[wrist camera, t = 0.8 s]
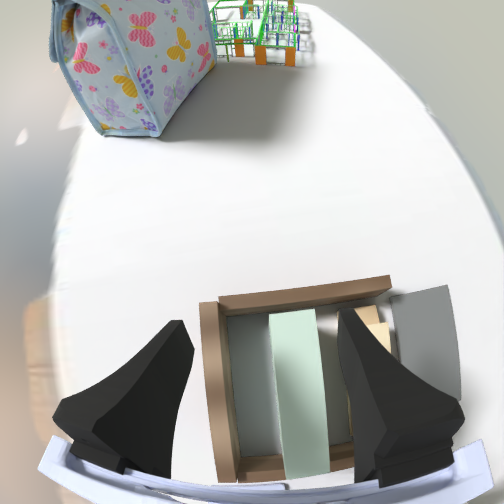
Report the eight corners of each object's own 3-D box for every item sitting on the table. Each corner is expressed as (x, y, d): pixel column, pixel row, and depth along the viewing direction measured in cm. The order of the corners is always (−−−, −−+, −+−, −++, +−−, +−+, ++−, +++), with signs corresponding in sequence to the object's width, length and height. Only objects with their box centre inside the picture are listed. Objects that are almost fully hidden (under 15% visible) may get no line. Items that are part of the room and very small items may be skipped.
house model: (299, 68, 41) (300, 47, 37) (148, 74, 44) (141, 56, 39) (296, 13, 53) (297, 0, 49) (193, 16, 56) (190, 3, 51)
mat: (458, 399, 21) (461, 399, 21) (403, 422, 21) (405, 423, 21) (444, 285, 26) (447, 284, 26) (389, 297, 26) (391, 296, 26)
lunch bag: (152, 63, 45) (119, -38, 20) (225, 62, 42) (207, -60, 17) (88, 137, 38) (16, 20, 13) (168, 144, 35) (102, -29, 10)
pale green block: (311, 437, 22) (330, 472, 13) (280, 441, 22) (286, 479, 14) (299, 322, 26) (314, 308, 18) (268, 326, 26) (269, 314, 18)
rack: (391, 439, 21) (412, 452, 16) (227, 467, 21) (219, 487, 16) (374, 285, 27) (393, 271, 22) (210, 305, 27) (198, 295, 22)
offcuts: (386, 422, 22) (401, 430, 18) (348, 433, 22) (358, 443, 19) (373, 305, 26) (387, 299, 23) (334, 312, 27) (343, 307, 23)
